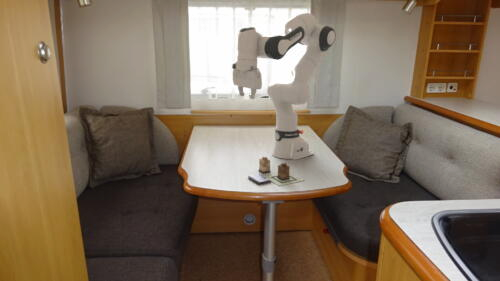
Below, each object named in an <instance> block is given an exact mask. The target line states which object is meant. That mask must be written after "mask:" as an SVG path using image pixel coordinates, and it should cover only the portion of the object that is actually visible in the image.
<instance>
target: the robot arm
mask: <svg viewBox="0 0 500 281" xmlns="http://www.w3.org/2000/svg"><path fill="white" fill-rule="evenodd" d="M282 34H283V35H280V34H279V35H263V34H262V33H261V32H259V31H258V30H257V28H256V27H252V26H251V27H243V28H241V29H239V31H238V33H237V41H236V42H237V43H236V45H237V46H236V50H237V57H236V58H237V59H236V62H234V63H232V65H231V69H232V83H233V85H234V86H237V89H238V92H239V96H240V97H244V96H245V92H244V88H247V89H250V94H249V99H251V100H255V96H256V94H257V90H261V89H262V87H263V82H262V80H263V79H262V72H261V70H260V69H259V67H258V58H259V59H272V60H281V59H282V58H284V57H285V56H286V54H287V53H288V52H289V51H290V50H291V49H292V48H293V47H295V46H296V45H297V44H299V45H302V46H306V48H305V51H303V53H302V54H301V55H300V56H299V57H298V60H296V62H295V63H294V65H293V66H292V68H291V75H292V79H290V80H289V81H286V80H275V81H272V82H270V83H269V84H268V87H267V95H268V97H269V98H270V100H271V101H272V104H273V106H274V111H275V119H276V120H275V122H276V124H275V125H276V126H275V129H274V138H275V140H274V147H273V151H272V154H271V155H272V156H273V157H275V158H277V159H287V160H293V161H294V160H299V159H302V158H307V157H310V156H313V155H314V152H313V151H312V150H310V145H309V142H308V141H307V140H305V139H304V138H303V137H302V136H301V135H303V134H304V130H302V129H299V128H298V120H299V119H298V118H299V117H298V113H297V112H296V110H295V109H294V107H293V105H295V106H300V105H305V104H307V103H308V102H309V99H310V98H311V90H310V88H309V84H310V80H311V79H312V77H313V76H314V75H315V73H316V72H317V70H318V68H319V67H320V65H321V63H322V60H323V58H324V55H325V54H324V52H327V51H329V49H330V48H331V47H332V46H333V44H334V43H335V41H336V38H337V37H336V34H337V33H336V31H335V29H334V28H333V27H331V26H329V25H323V24H317V18H316V16H314V14H312V13H309V12H306V13H300V14H297V15H295V16H293V17H291V18H289V19H288V20H286V21H285V22H284V24H283V26H282ZM300 134H301V135H300Z"/></svg>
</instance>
